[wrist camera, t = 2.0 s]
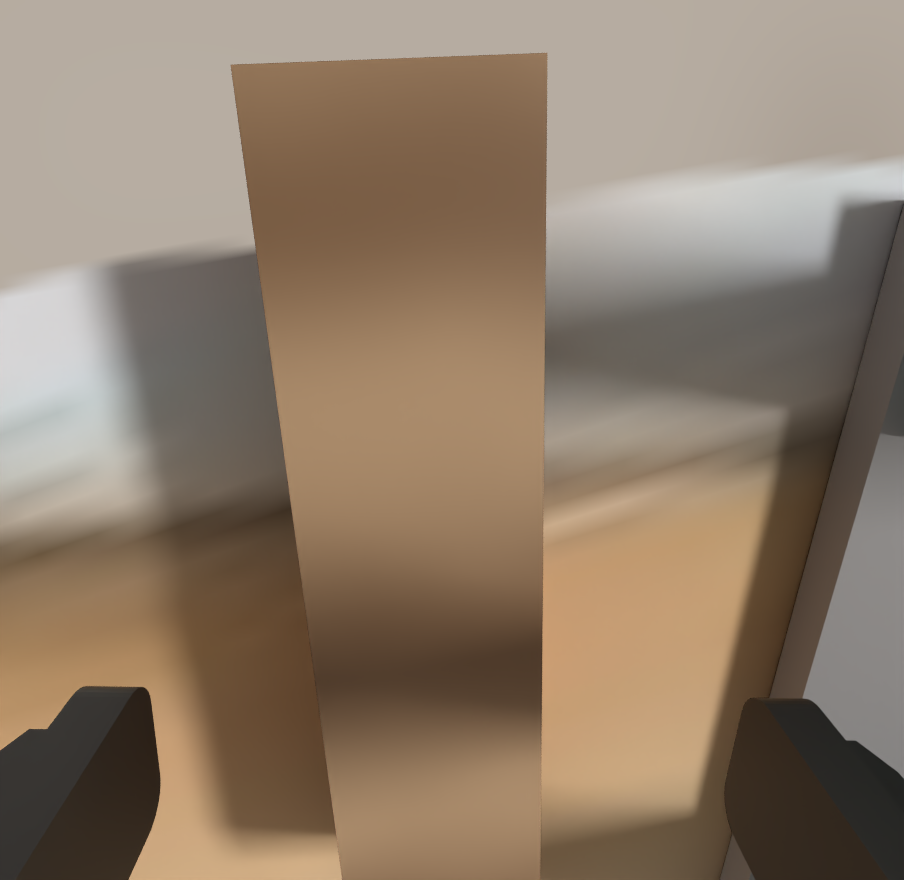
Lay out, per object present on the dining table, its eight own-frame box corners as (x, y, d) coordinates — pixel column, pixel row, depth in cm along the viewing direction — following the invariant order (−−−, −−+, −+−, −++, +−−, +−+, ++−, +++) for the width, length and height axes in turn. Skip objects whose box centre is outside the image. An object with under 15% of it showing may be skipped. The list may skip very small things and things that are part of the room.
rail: (292, 110, 11) (231, 64, 7) (508, 102, 11) (547, 53, 7) (372, 824, 16) (357, 988, 13) (515, 815, 16) (539, 976, 13)
